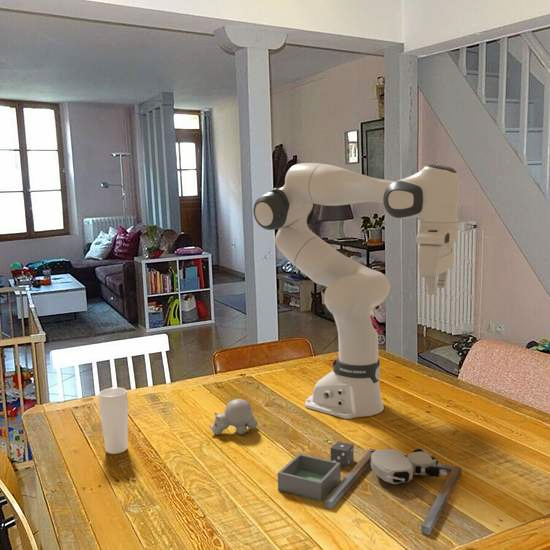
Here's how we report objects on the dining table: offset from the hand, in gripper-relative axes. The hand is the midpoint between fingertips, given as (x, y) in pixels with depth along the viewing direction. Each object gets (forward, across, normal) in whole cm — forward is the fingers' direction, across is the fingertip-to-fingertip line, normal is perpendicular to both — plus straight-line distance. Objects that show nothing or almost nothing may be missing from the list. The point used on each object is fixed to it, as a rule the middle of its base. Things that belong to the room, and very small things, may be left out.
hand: (436, 290), depth 145 cm
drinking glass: (+39, +41, -67) cm, 88 cm away
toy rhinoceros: (+38, +19, -47) cm, 64 cm away
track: (+37, +30, 0) cm, 48 cm away
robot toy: (+37, +23, 0) cm, 44 cm away
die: (+38, +23, -15) cm, 47 cm away
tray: (+38, +36, -17) cm, 55 cm away
